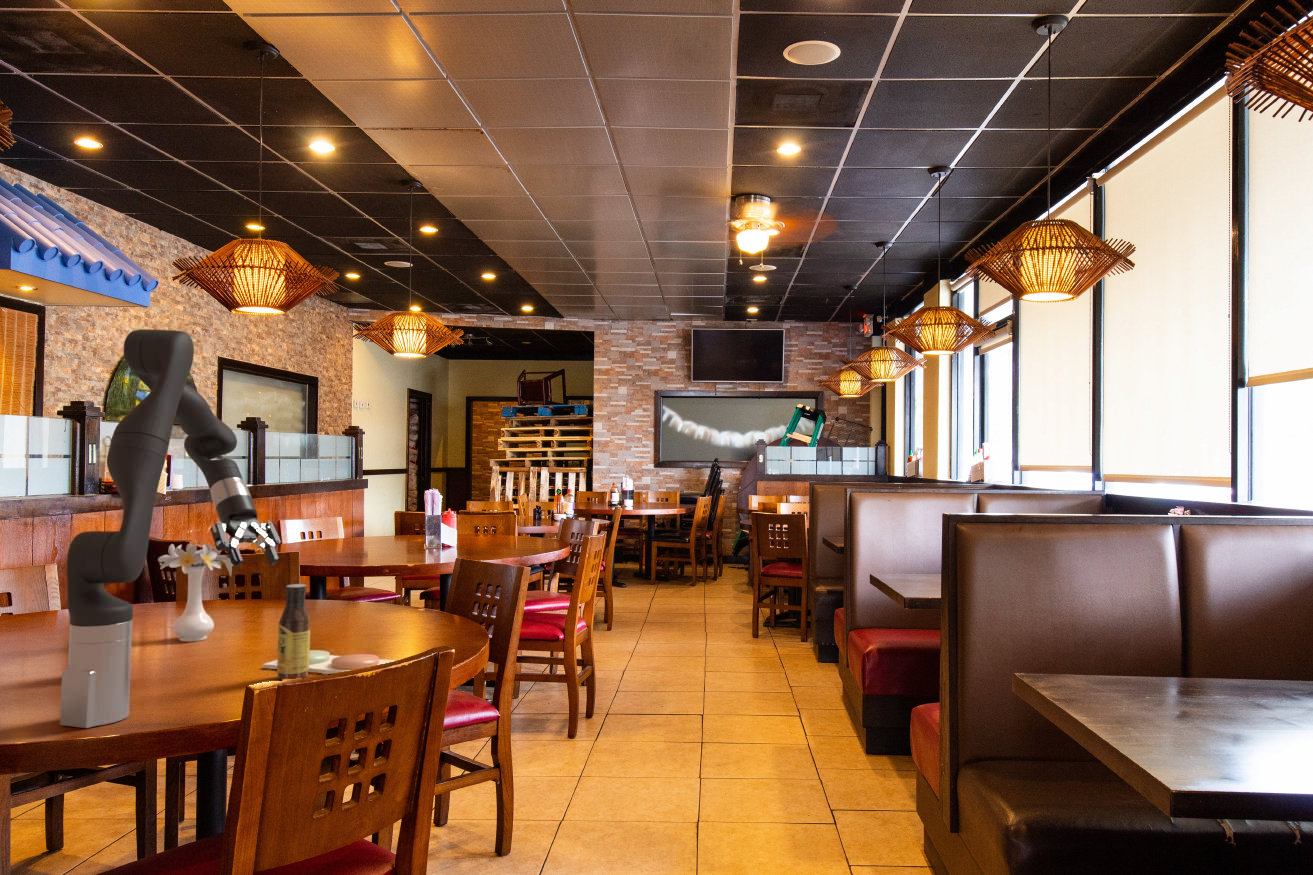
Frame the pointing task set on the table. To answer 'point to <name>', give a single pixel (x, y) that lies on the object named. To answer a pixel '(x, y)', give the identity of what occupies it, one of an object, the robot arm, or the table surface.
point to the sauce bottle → (294, 635)
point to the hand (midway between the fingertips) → (257, 564)
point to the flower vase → (194, 588)
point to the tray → (336, 662)
